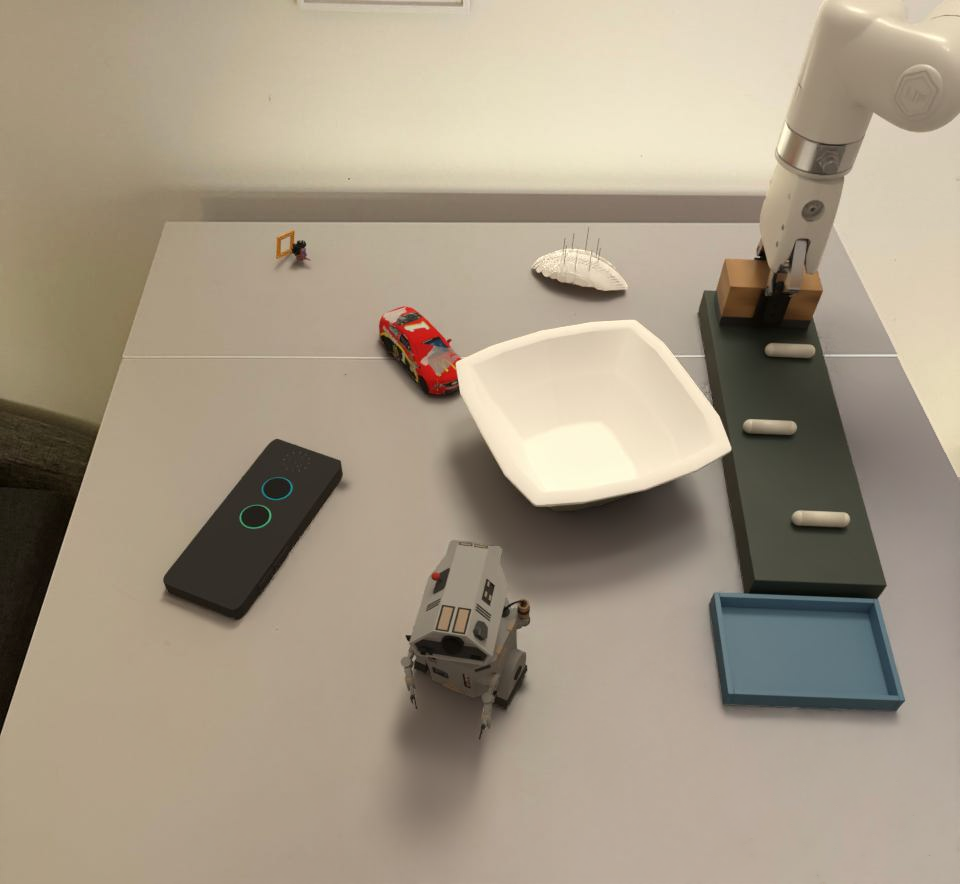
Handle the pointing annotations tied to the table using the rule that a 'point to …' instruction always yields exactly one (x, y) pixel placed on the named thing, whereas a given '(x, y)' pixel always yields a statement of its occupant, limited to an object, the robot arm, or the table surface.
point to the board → (787, 465)
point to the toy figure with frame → (292, 247)
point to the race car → (420, 350)
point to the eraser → (744, 289)
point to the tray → (804, 652)
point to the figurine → (469, 629)
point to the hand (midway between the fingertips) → (762, 305)
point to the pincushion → (580, 269)
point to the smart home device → (254, 529)
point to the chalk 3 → (820, 518)
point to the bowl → (589, 413)
